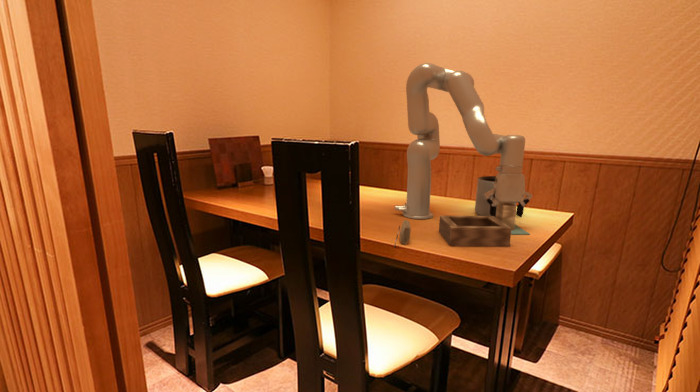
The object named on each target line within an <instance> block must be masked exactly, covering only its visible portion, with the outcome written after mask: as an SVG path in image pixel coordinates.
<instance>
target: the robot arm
mask: <svg viewBox="0 0 700 392" xmlns="http://www.w3.org/2000/svg"><path fill="white" fill-rule="evenodd" d="M405 86H406V87H405V90H406V91H405V92H406V94H405V95H406V109H407V110H406V111H407V126H408V127H407V128H408V130H409V132H410V133H411V134H412V135H415V136H417V138H416V139H415V140H413V141H411V142H410V143H409V145H408V146H407V148H406V159H407V160H406V161H407V162H406V163H407V180H406V181H407V184H406V202H404V204H402V205H394V210H395V211H399V212H402V213H401V214H402V216H403V217H405V218H408V219H413V220H427V219H431V218H433V217H434V213H433V212H432V211H430V208H431V207H430V205H431V191H432V190H431V188H432V164H431V163H432V162H431V161H433V160H435V159H436V158H437V157H438V156H439V153H440V149H441V148H440V147H441V145H440V144H441V143H440V125H439V119H438V118H437V116H436V115H435V114H434V113H433V112H431V111H430V100H429V99H430V98H429V95H428V94H429V93H428V88H430V89H434V90H439V91H443V92H445V93H448V94H449V95H450V97H451V99H452V101H453V102H454V105H455V107H456V108H457V110H458V113H459V114H460V116H461V118H462V122H463V126H464V128H465V131H466V134H467V135H468V138H469V140H470V141H471V143H472V145H473V147H474V149H475V150H476V151H477V152H478V154H480V155H482V156H485V157H489V156H492V155H496V154H500V160H499V164H498V166H495V171H498V172H497V173H496V175H495V176H496V179H495V183H494V188H493V189H492V190H490V191H488V192H486V193H484V197H485V199H486V201H487V202H488V203H489V204H490V215H491V216H494V217H495V216H496V206H495V205H496V204H497V203H498V202H517V203H518V204H516V206H517V207H516V216H517V217H518V218H522V217H523V215H524V211H525V207H526V205H527V204H528V203H530V200H531V199H532V198H533V196H534V195H533V193H531V192H529V191H527V190H526V182H525V181H526V179H525V174H523V167H524V166H523V165H524V157H525V156H524V155H525V145H526V138H525V136H523V135H517V134H514V135H513V134H507V135H503V134H497V133H493V132H492V129H491V128H490V126H489V124H488V122H487V119H486V115H485V105H484V103H483V101H482V99H481V97H480V95H479V93H478V92H477V90H476V88H475V80H474V78H473V76H472V75H471V74H469V73H468V72H466V71H463V70H452V69H449V68H445V67H441V66H439V65H436V64H434V63H430V62H429V63H428V62H424V63H421V64H418V65H417V66H416V67H414V69H412V70H411V72H410V73H409V75H408V77H407V79H406V84H405ZM492 194H493V199H492V200H490V198H489V196H490V195H492Z"/></svg>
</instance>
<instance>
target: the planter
mask: <svg viewBox="0 0 700 392" xmlns="http://www.w3.org/2000/svg"><path fill="white" fill-rule="evenodd" d="M496 176H497V175H495V176H494V175H485V176H484V175H483V176H479V177H477V184H476V195H475V205H474V212H475V213H476V214H477V216H491V215H490V204H489V203H488V202H487V201H486V199H485V197H484V193H486V192H488V191H490V190H492V189H493V188H494V183H495V179H496ZM489 198H490V200H492V199H493V194H492V195H490V196H489ZM510 203H512V204H513V205H515V206H517V203H518V202H510ZM495 206H496V212H497V204H496V205H495ZM495 217H496V216H495Z"/></svg>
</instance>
